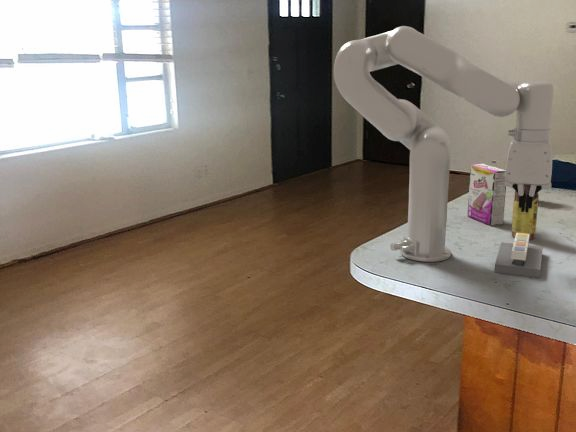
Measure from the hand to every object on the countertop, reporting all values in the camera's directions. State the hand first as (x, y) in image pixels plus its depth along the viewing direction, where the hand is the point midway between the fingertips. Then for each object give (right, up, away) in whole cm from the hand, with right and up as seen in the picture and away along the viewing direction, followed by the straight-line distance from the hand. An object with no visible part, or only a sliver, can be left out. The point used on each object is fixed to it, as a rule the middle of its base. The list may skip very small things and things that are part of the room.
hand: (524, 210), depth 149 cm
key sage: (0, -11, +3) cm, 11 cm away
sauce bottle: (+7, -7, +21) cm, 23 cm away
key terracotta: (-1, -12, 0) cm, 12 cm away
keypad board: (-1, -13, +2) cm, 13 cm away
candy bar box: (+2, -3, +36) cm, 36 cm away
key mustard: (+2, -10, +7) cm, 12 cm away
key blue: (-3, -13, -3) cm, 13 cm away
